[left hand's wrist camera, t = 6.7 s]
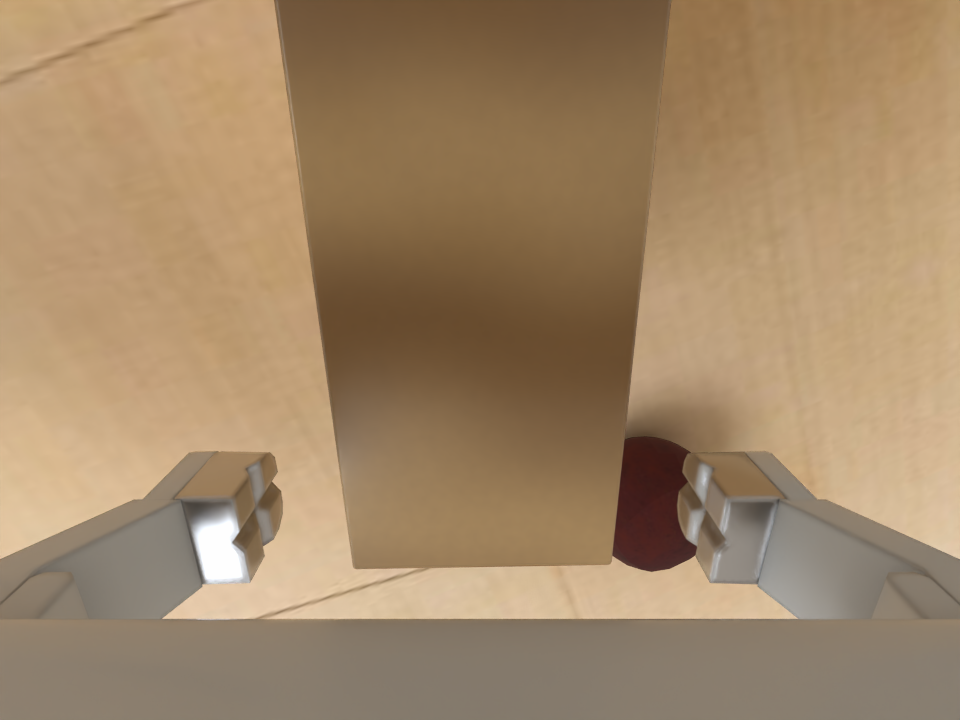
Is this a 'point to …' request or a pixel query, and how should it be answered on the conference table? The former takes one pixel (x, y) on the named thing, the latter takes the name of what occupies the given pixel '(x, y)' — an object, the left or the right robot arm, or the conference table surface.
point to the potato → (651, 506)
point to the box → (476, 263)
